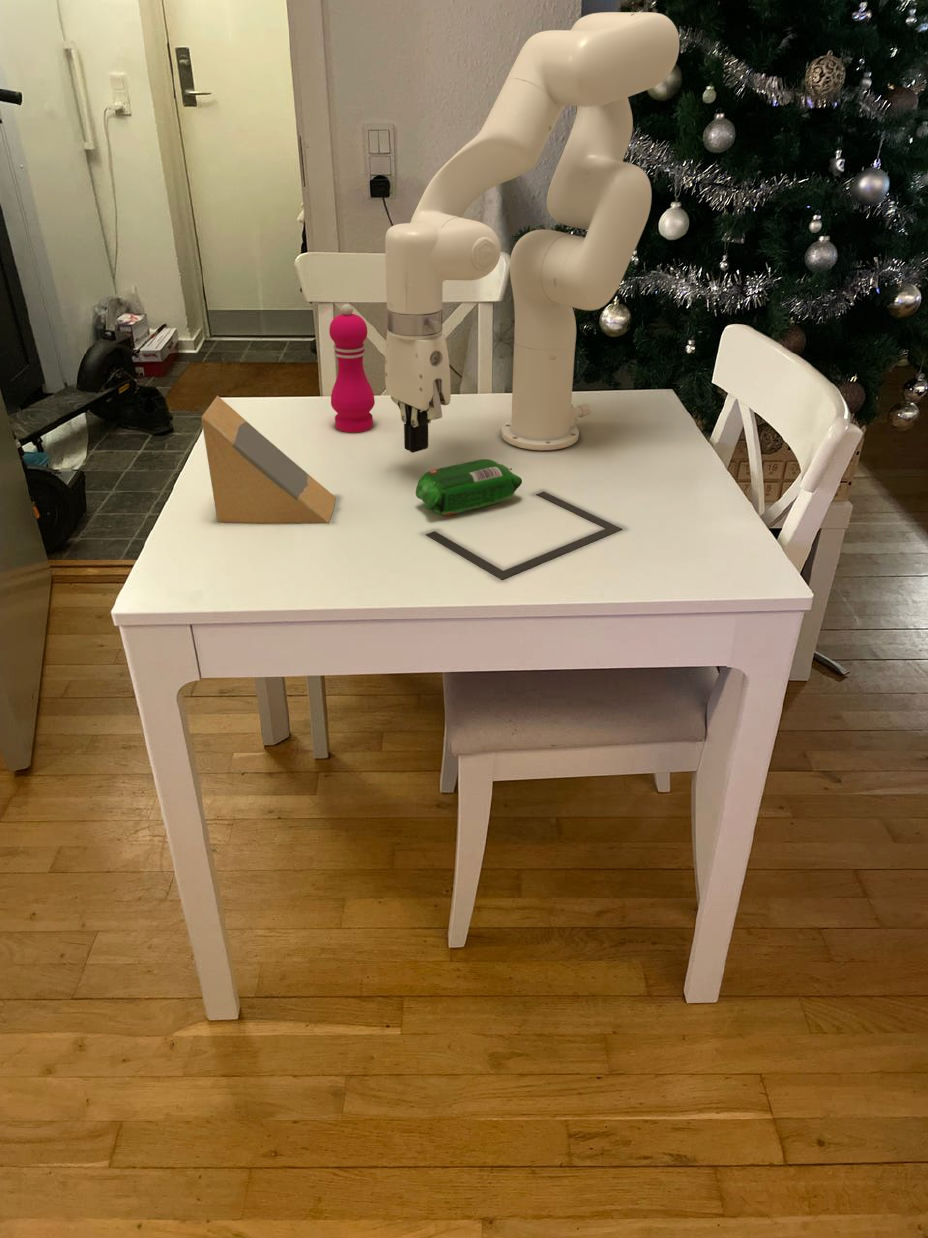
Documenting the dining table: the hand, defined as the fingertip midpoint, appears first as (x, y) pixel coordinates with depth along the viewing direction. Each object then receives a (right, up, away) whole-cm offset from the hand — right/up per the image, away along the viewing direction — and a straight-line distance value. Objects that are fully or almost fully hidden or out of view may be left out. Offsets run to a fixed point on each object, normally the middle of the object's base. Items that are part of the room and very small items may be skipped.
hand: (416, 448), depth 138 cm
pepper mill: (-11, +7, +20) cm, 24 cm away
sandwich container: (-19, -10, -7) cm, 22 cm away
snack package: (+8, -9, -5) cm, 13 cm away
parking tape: (+15, -13, -13) cm, 24 cm away
